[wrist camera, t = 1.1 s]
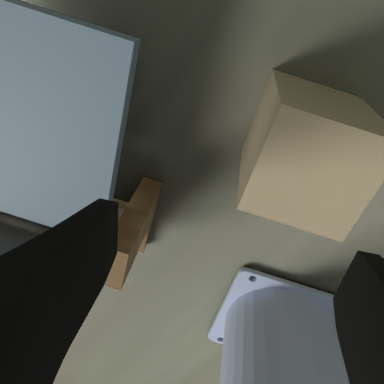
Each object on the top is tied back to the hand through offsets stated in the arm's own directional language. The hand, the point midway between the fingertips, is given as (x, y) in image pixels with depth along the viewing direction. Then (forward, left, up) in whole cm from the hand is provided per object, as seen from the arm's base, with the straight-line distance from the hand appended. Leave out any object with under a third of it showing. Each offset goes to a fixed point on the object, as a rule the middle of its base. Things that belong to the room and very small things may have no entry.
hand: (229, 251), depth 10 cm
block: (-3, -1, -10) cm, 10 cm away
